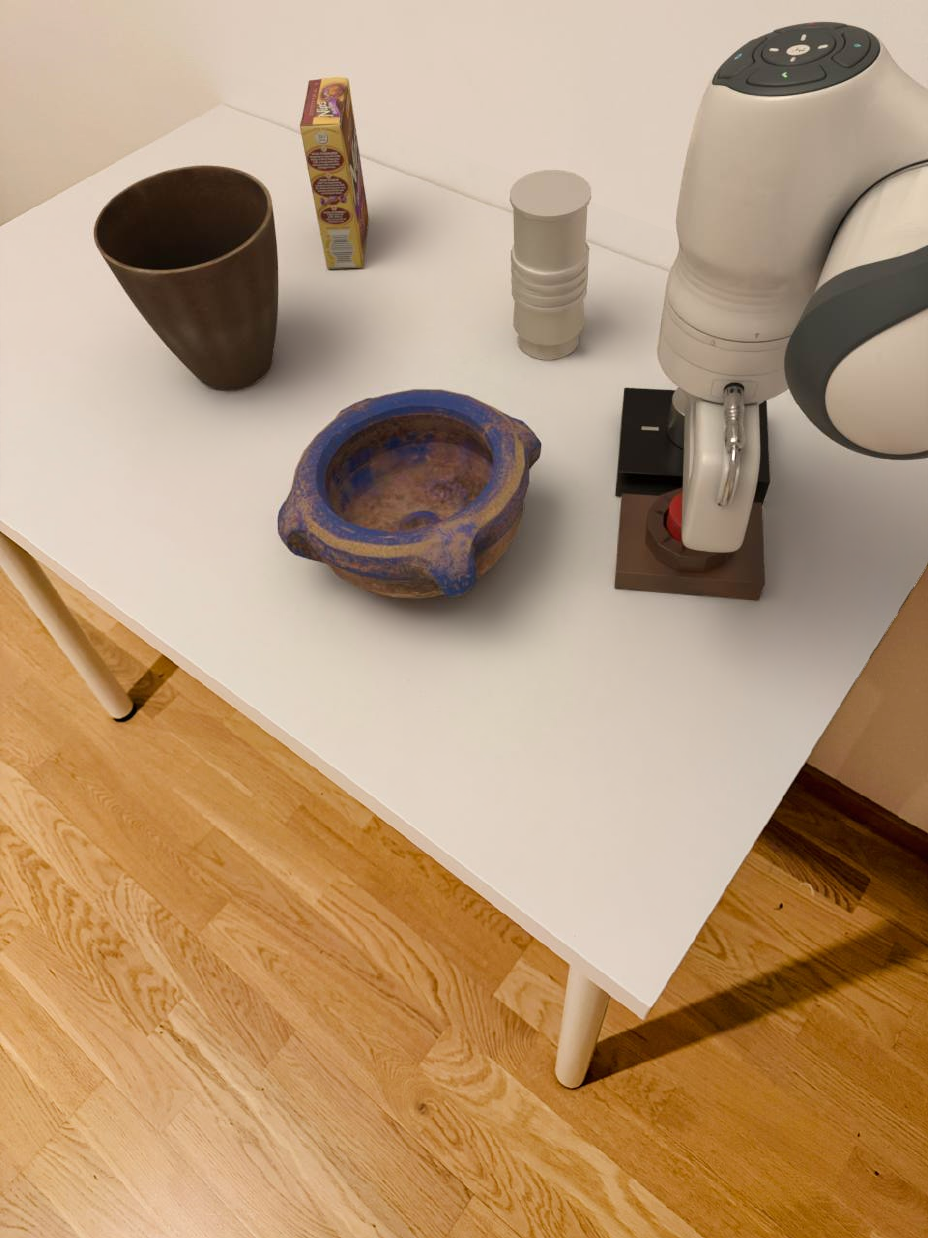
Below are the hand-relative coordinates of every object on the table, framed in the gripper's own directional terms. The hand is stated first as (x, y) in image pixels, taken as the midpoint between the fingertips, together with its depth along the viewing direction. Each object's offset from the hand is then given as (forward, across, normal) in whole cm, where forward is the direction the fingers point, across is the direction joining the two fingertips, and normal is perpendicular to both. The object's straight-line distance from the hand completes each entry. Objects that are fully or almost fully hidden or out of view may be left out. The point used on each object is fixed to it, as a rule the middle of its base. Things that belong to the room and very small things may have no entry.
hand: (699, 488), depth 66 cm
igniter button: (+4, 0, 0) cm, 4 cm away
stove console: (+8, +10, 0) cm, 13 cm away
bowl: (+8, -1, +21) cm, 23 cm away
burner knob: (+5, +10, 0) cm, 11 cm away
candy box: (+8, +39, +36) cm, 54 cm away
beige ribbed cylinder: (+8, +25, +13) cm, 29 cm away
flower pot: (+8, +19, +43) cm, 48 cm away
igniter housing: (+8, 0, 0) cm, 8 cm away
